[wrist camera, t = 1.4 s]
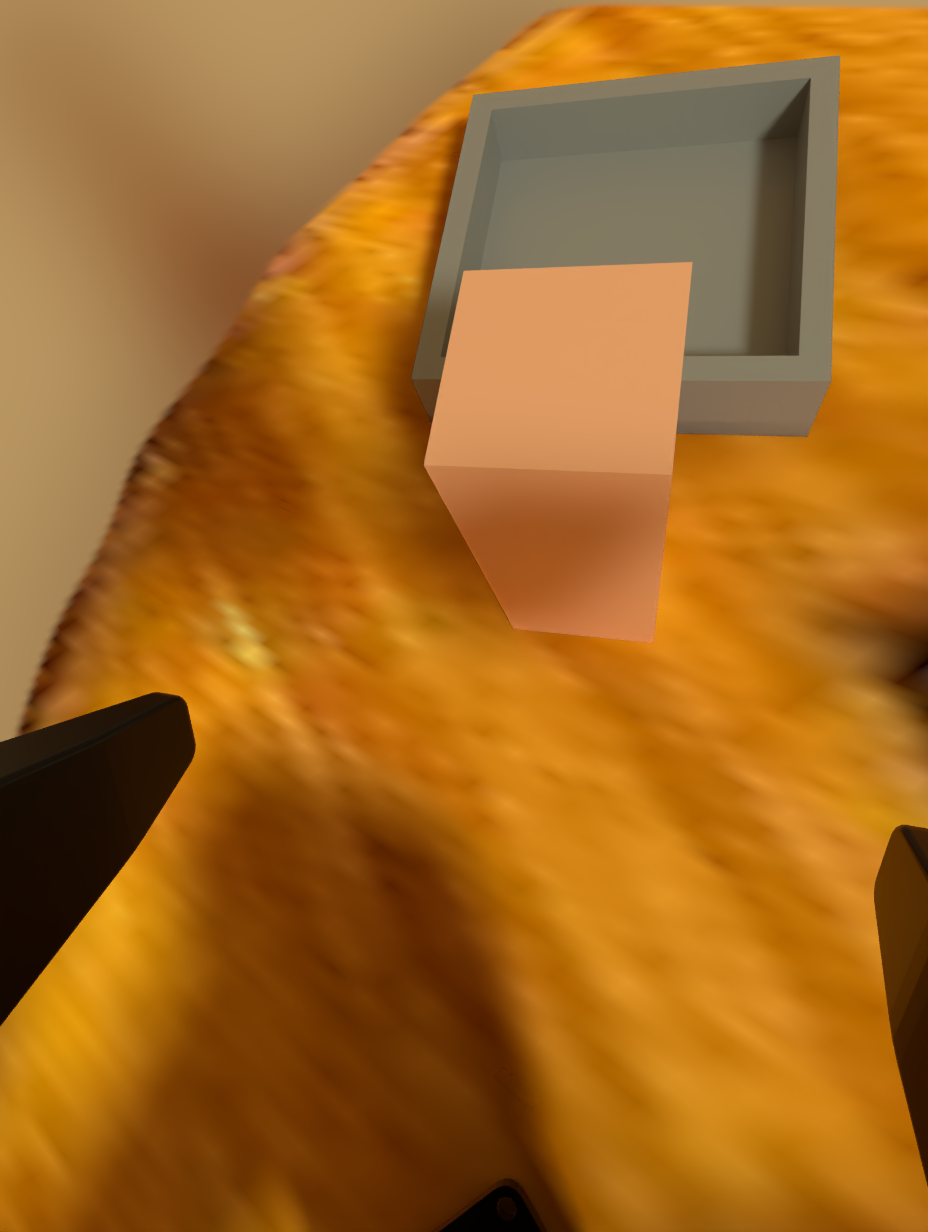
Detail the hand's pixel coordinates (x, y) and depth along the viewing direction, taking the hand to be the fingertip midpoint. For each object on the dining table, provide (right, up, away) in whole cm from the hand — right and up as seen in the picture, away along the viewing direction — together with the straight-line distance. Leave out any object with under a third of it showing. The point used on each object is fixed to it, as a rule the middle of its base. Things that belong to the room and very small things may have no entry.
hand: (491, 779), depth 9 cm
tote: (+6, +15, +18) cm, 24 cm away
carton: (+4, +4, +15) cm, 16 cm away
